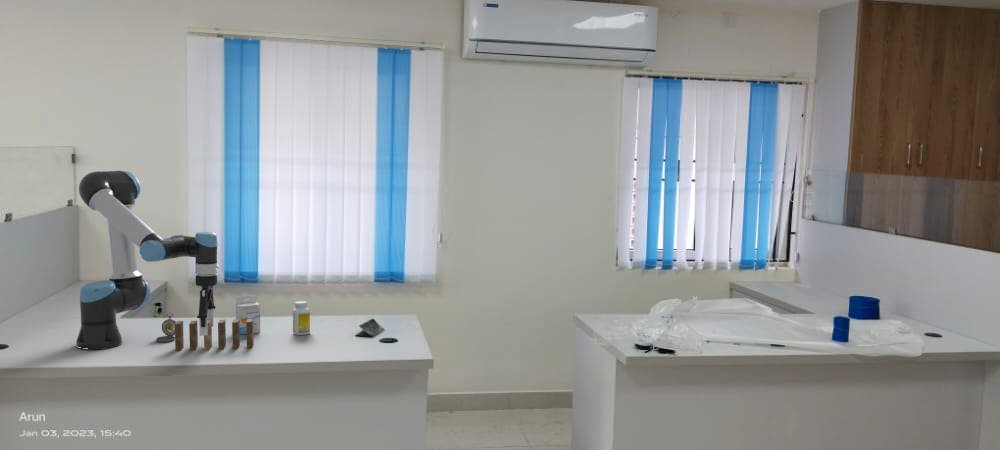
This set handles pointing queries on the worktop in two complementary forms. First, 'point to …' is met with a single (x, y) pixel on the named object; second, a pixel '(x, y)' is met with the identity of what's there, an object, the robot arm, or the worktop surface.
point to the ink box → (248, 312)
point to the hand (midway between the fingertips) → (206, 330)
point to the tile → (208, 337)
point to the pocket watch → (166, 328)
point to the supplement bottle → (301, 318)
